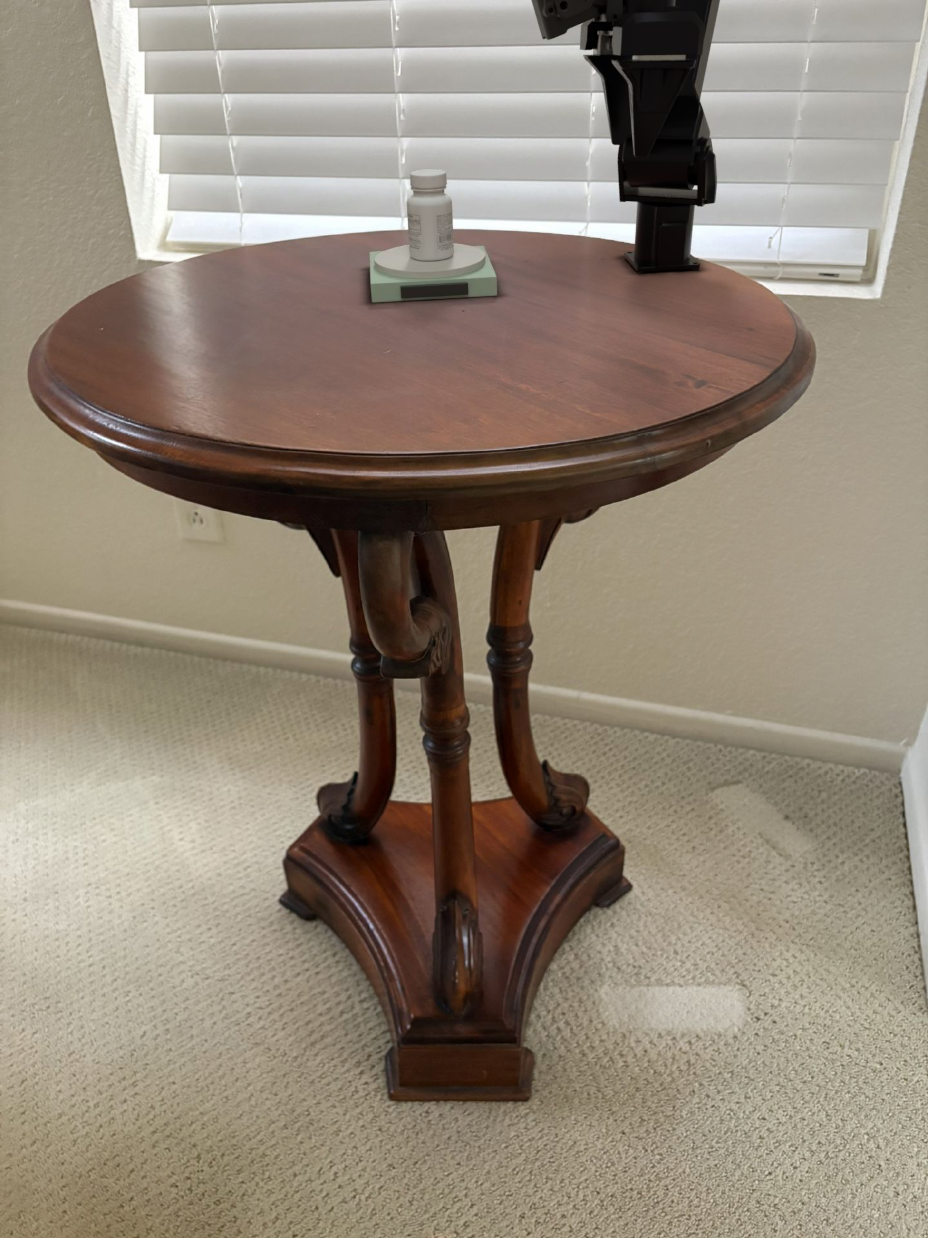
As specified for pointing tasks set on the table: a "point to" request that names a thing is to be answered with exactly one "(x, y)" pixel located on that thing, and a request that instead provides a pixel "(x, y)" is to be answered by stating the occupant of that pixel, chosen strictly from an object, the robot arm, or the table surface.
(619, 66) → the robot arm
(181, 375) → the table surface
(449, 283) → the scale
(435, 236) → the pill bottle
